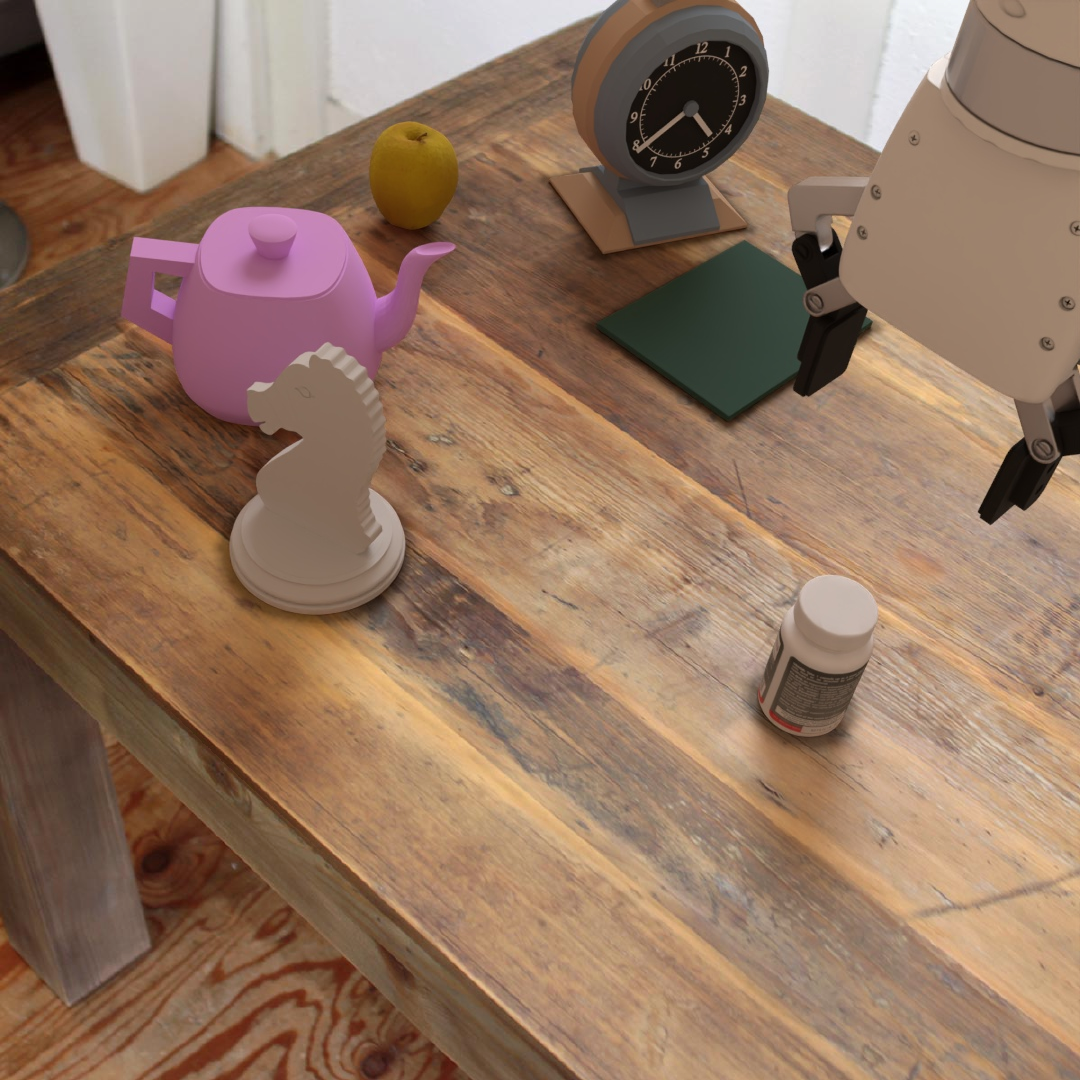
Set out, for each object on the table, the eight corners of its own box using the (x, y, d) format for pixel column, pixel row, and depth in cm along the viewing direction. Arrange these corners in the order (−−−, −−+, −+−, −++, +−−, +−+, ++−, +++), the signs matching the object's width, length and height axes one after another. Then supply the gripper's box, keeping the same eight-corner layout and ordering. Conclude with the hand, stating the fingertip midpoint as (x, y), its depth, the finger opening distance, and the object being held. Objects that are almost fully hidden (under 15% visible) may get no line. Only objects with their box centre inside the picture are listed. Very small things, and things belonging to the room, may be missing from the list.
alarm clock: (590, 256, 97) (626, 25, 84) (537, 182, 103) (562, -45, 90) (758, 225, 102) (816, 2, 89) (698, 156, 108) (745, -63, 95)
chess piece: (298, 463, 80) (288, 258, 69) (437, 531, 78) (450, 329, 67) (193, 565, 74) (164, 358, 63) (340, 643, 72) (336, 441, 61)
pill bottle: (860, 723, 72) (907, 626, 65) (786, 751, 70) (828, 654, 64) (812, 656, 74) (853, 558, 68) (740, 682, 73) (775, 583, 66)
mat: (743, 245, 100) (744, 239, 100) (871, 326, 95) (873, 320, 95) (595, 328, 92) (596, 322, 91) (727, 422, 87) (729, 416, 86)
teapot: (446, 451, 82) (455, 307, 74) (113, 436, 80) (84, 287, 72) (448, 314, 91) (456, 172, 83) (148, 297, 89) (127, 151, 81)
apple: (438, 255, 95) (444, 157, 90) (354, 233, 96) (354, 134, 90) (466, 207, 100) (473, 111, 94) (386, 187, 100) (387, 90, 95)
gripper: (1354, 155, 43) (1126, 517, 56) (916, -54, 50) (802, 308, 63) (1255, 235, 39) (1033, 606, 52) (795, -4, 46) (699, 371, 59)
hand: (906, 442), depth 57 cm, fingers open, 9 cm apart
